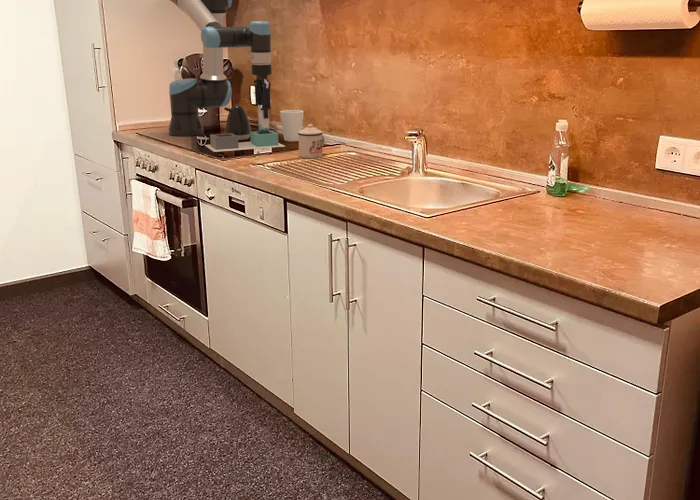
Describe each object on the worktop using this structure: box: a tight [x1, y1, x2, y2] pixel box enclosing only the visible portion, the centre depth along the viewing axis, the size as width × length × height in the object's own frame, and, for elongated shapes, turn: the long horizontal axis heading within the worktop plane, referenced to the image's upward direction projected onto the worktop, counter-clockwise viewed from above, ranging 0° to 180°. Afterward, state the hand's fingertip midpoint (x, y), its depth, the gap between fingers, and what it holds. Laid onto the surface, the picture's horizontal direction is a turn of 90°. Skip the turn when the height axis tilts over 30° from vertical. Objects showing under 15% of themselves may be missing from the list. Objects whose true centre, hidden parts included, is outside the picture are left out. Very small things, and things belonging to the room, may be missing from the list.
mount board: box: [204, 132, 286, 153], centre depth 269 cm, size 16×28×6 cm, turn 114°
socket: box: [250, 130, 279, 147], centre depth 272 cm, size 9×9×4 cm
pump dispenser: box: [223, 104, 252, 141], centre depth 284 cm, size 10×10×15 cm
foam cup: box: [279, 109, 305, 142], centre depth 280 cm, size 10×9×13 cm
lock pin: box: [257, 104, 270, 134], centre depth 270 cm, size 4×4×13 cm
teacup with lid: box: [298, 123, 325, 159], centre depth 256 cm, size 12×9×12 cm
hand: (263, 126), depth 270 cm, fingers closed on lock pin, 4 cm apart
